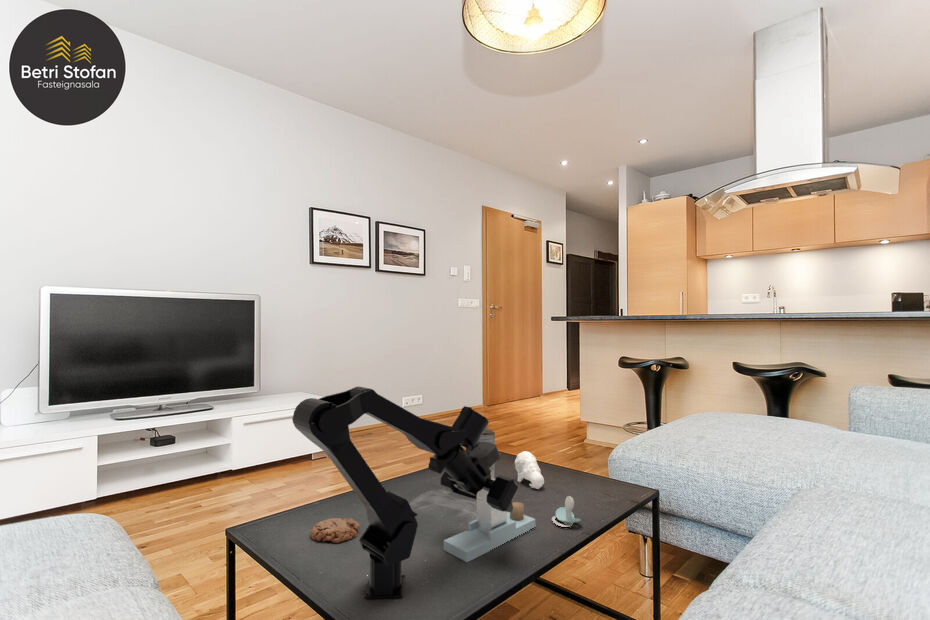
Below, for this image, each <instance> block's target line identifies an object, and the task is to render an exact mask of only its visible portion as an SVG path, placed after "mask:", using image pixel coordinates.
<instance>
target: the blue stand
mask: <svg viewBox="0 0 930 620" xmlns="http://www.w3.org/2000/svg"><path fill="white" fill-rule="evenodd" d="M512 505H513V510H512V512H507V523H506V524H504V525H502V526H500V527H498V528H495V529H493V530H491V531H489V532H488V534H485V533H483V532H481V531H479V530H477V518H476V519H474V520H472V521H469V522H467V530H464V531H462V532H460V533H457V534H454V535H452V536H450V537H448V538H446V539H443V551H445V552H447V553H448V554H450V555H452V556H454V557H456V558H458V559H460V560H461V561H463V562H465V563H469V562H470V561H473V560H475V559H477V558H479V557H480V556H482V555H484V554H487V553H489V552H490V550H491V551H492V549H493V550H495V549H497V548H498V546H499V547H500V545H501V546H502V544H503V545H504V543H505V544H507V543H508V542H507V541H509V542H511V541H512V540H511V539H513V540H514V538H515V537H516V538H518V537H520V536H522V535H524V534H526V533H528V532H530V531H531V530H530V529H532V528H534V527H536V518H533V517H531V516H528V515H525V513H524V509H525V508H524V507H525V506H524V503H522V502H519V501H513V502H512ZM534 529H535V528H534ZM529 530H530V531H529ZM532 530H533V529H532ZM527 531H528V532H527ZM525 532H526V533H525ZM523 533H524V534H523ZM521 534H522V535H521ZM519 535H520V536H519ZM517 536H518V537H517ZM516 538H515V539H516ZM510 540H511V541H510ZM506 542H507V543H506ZM496 547H497V548H496ZM494 548H495V549H494Z"/></svg>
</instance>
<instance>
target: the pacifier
mask: <svg viewBox="0 0 930 620" xmlns="http://www.w3.org/2000/svg"><path fill="white" fill-rule="evenodd" d="M574 506H575V500H574V498H573V497H572V496H570V495H568V496H566V498H565V501H564V506H563V507H559V508H557V509H556V510H555V515H554V516H552V517H551V522H552V521H553V522H552V523H553V524H554V523H555V524H556V525H555V524H554V525H555V526H557V525H558V526H561V527H570V526H572V524H573V523H577V522H581V521H582V519H581V518H575V514H574V513H573V512H572V511H573V509H574ZM556 518H557V519H556ZM555 519H556V520H555ZM557 520H558V521H560V522H561V523H560V522H558V521H557ZM562 522H564V523H567V524H568V525H564V524H563V523H562ZM558 526H557V527H558ZM561 527H560V528H561ZM572 527H573V526H572ZM570 528H571V527H570Z"/></svg>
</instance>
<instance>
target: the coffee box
mask: <svg viewBox="0 0 930 620" xmlns="http://www.w3.org/2000/svg"><path fill="white" fill-rule="evenodd" d="M495 437H496V434H495V431H493V430H492V429H491V428H489V427H488V426H487V427H486V429H485V431H484V432H483V434H482V436H481V437H480V439H479V441H480V442H489V443H493V444H496V439H495ZM479 441H478V442H479ZM478 442H477V443H478ZM474 448H475V447H474ZM495 468H496V462H495V463H494V464H493V465H492V466H491V467H490V468H489V469H490V470H491V473H490V475H489V476H487V477H486V478H489V479H496V477H495V476H496V475H495V474H496V473H495V472H496V469H495Z"/></svg>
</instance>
